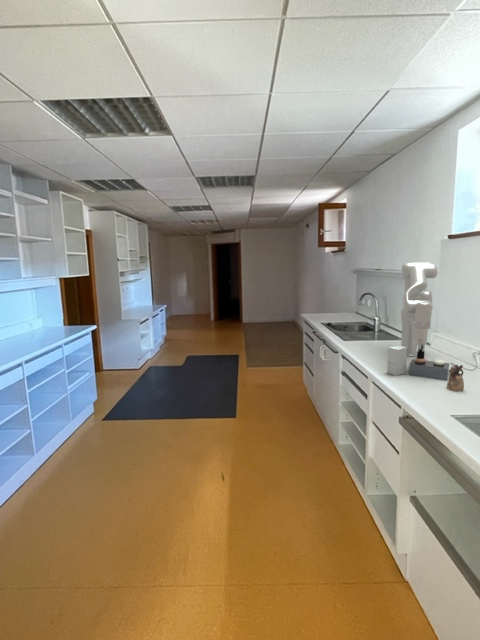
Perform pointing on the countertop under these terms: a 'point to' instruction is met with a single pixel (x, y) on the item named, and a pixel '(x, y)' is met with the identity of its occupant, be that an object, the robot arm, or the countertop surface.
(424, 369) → the housing
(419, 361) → the knob
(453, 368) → the figurine
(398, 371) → the skincare box
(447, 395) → the countertop surface
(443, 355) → the countertop surface
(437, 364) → the knob
